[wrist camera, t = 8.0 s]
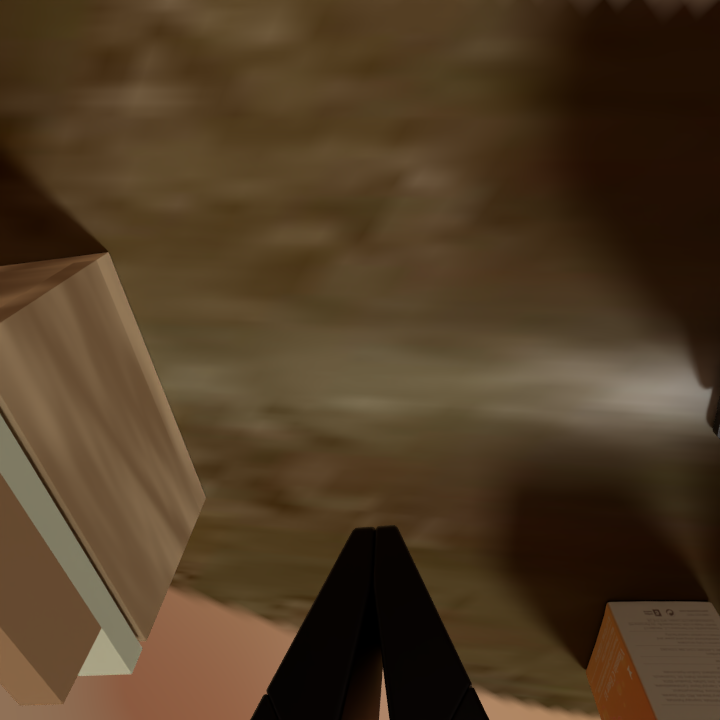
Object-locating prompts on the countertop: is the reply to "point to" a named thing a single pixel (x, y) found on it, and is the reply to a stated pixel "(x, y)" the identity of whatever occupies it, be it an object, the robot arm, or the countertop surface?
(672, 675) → the small box
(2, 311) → the box
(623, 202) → the countertop surface
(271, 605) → the countertop surface
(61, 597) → the lid
